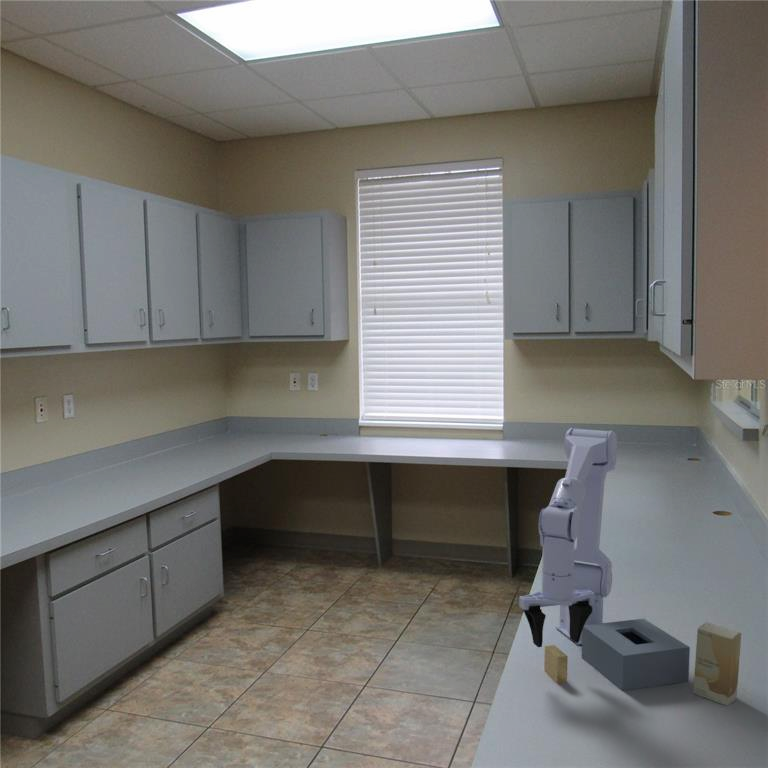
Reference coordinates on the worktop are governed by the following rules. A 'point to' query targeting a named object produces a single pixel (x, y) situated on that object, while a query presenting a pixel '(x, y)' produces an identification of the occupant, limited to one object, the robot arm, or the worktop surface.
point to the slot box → (635, 654)
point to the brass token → (556, 664)
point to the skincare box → (717, 663)
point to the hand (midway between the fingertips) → (556, 642)
